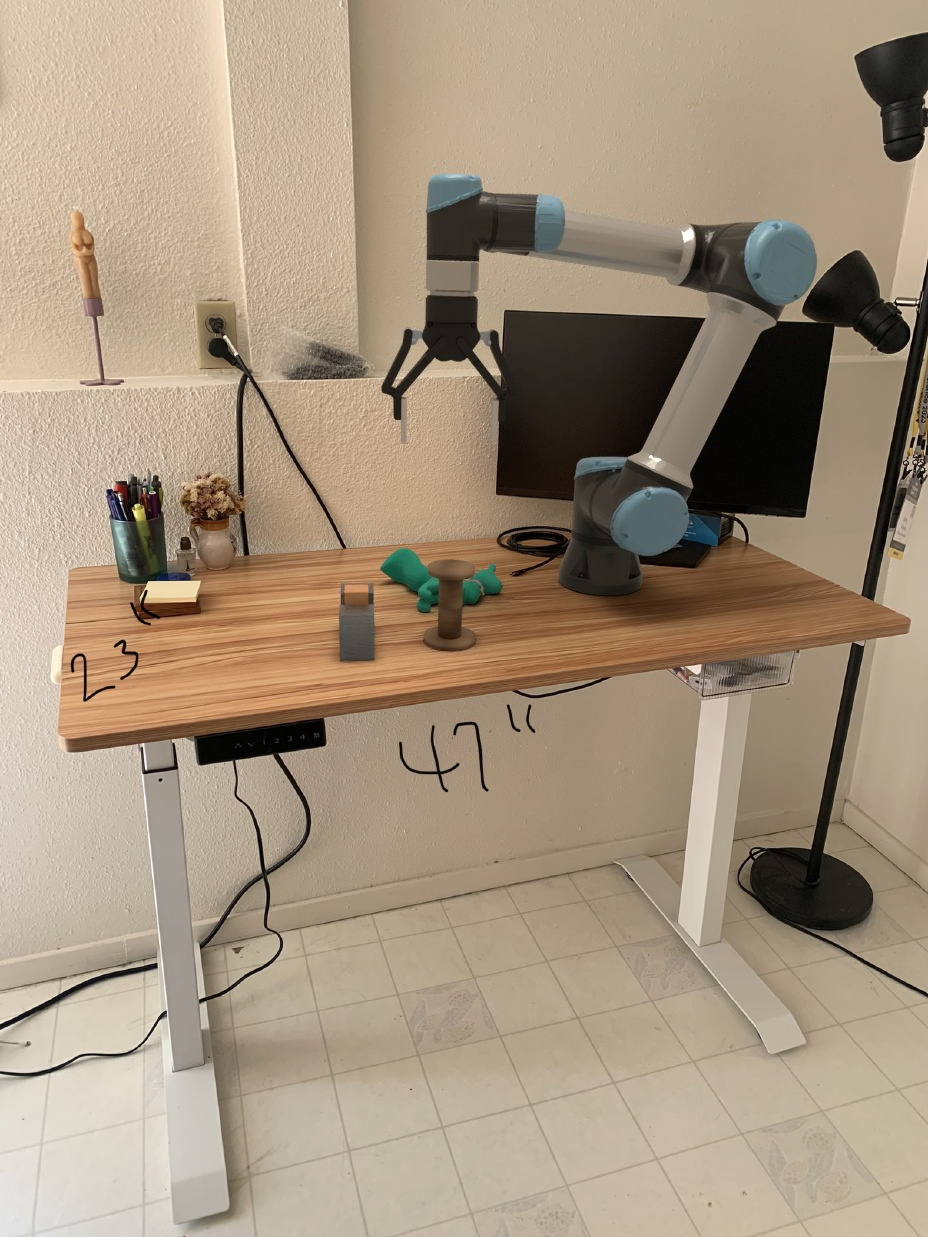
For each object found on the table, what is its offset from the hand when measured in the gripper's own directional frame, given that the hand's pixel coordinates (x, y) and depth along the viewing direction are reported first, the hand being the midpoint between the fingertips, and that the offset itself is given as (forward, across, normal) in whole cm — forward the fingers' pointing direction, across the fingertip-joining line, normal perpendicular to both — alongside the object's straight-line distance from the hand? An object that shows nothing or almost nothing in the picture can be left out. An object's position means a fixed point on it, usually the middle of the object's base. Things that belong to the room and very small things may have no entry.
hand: (448, 442), depth 140 cm
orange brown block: (+27, +14, +9) cm, 32 cm away
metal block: (+29, +14, +9) cm, 33 cm away
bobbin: (+29, 0, +9) cm, 30 cm away
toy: (+29, 0, -13) cm, 32 cm away
